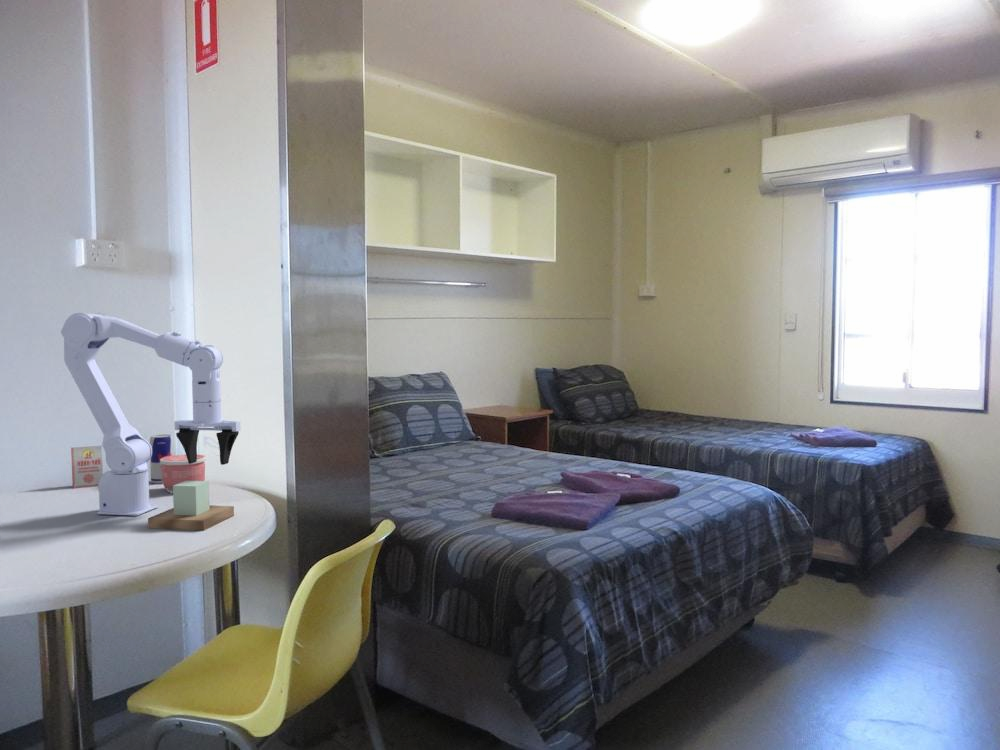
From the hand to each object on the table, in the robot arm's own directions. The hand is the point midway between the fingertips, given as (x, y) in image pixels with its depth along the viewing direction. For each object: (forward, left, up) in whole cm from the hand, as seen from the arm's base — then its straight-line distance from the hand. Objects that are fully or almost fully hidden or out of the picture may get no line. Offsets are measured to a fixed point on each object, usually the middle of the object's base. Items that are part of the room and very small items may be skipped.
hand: (208, 463), depth 167 cm
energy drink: (-28, +26, -11) cm, 40 cm away
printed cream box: (-44, +19, -11) cm, 50 cm away
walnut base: (+2, -10, -10) cm, 14 cm away
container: (-17, +18, -11) cm, 28 cm away
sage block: (+1, -10, -8) cm, 13 cm away
